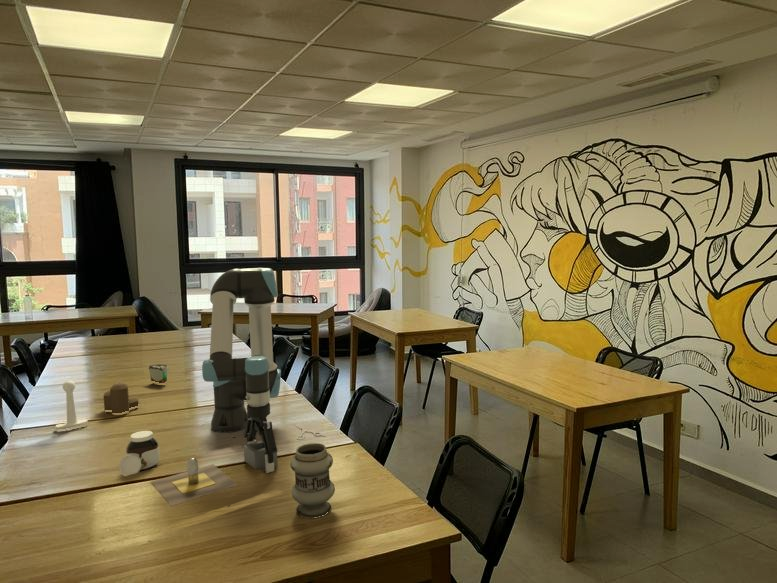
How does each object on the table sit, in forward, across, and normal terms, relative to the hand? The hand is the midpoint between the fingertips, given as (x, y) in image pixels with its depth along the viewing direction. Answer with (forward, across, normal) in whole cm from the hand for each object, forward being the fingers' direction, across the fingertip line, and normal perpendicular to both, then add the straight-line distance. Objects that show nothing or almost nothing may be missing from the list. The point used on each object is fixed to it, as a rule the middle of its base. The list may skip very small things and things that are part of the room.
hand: (261, 465), depth 183 cm
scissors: (+1, -19, +28) cm, 34 cm away
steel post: (-1, +1, -23) cm, 23 cm away
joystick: (0, -87, -42) cm, 97 cm away
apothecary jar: (0, +37, -2) cm, 37 cm away
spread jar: (0, -24, -32) cm, 40 cm away
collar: (0, 0, 0) cm, 0 cm away
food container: (0, -131, +7) cm, 131 cm away
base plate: (0, +1, -23) cm, 23 cm away
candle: (0, -96, -21) cm, 98 cm away
